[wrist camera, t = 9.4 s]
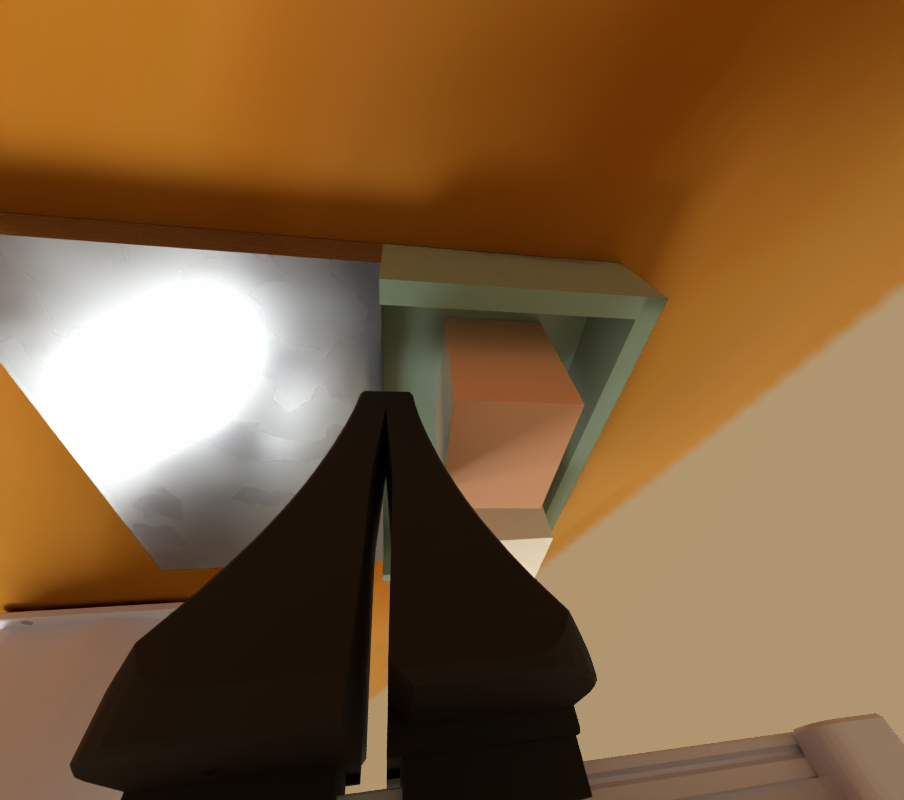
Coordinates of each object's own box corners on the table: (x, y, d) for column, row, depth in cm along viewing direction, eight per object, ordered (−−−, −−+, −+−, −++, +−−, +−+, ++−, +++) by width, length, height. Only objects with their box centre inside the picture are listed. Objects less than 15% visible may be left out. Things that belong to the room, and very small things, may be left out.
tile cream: (454, 597, 14) (528, 591, 15) (464, 542, 12) (553, 537, 12) (444, 509, 17) (506, 506, 18) (451, 451, 15) (523, 449, 15)
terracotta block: (439, 508, 11) (540, 508, 11) (454, 400, 8) (584, 404, 8) (435, 415, 14) (514, 418, 14) (444, 316, 11) (540, 322, 12)
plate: (177, 538, 17) (161, 570, 16) (-37, 209, 8) (-106, 227, 7) (384, 531, 19) (383, 560, 18) (383, 243, 10) (381, 263, 9)
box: (384, 531, 19) (382, 581, 17) (383, 243, 10) (379, 278, 8) (517, 526, 20) (530, 573, 18) (621, 263, 11) (668, 298, 9)
